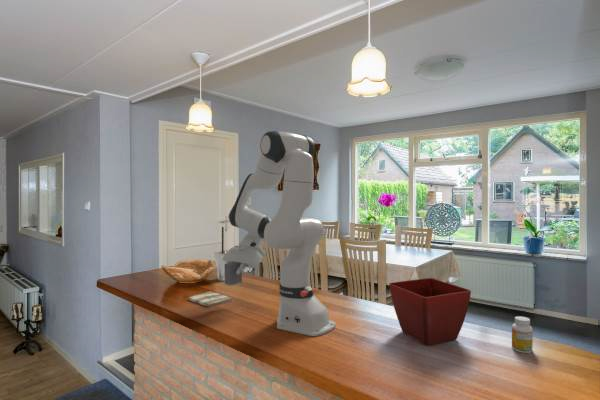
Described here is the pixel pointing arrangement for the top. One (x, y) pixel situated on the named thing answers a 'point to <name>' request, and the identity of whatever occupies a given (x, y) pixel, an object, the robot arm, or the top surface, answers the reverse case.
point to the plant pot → (430, 309)
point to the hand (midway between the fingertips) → (232, 273)
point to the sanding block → (232, 274)
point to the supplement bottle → (522, 335)
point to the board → (209, 299)
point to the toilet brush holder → (221, 260)
